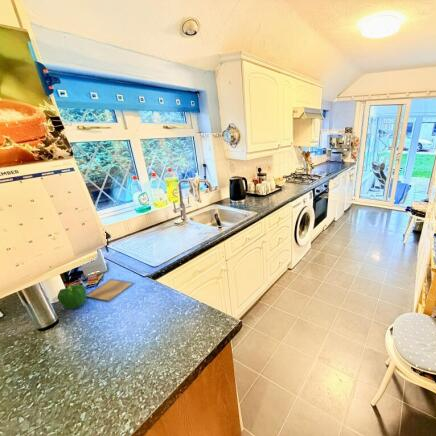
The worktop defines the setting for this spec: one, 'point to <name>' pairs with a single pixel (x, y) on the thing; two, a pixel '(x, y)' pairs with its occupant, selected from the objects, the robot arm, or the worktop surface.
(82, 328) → the worktop surface
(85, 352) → the worktop surface
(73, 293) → the bell pepper
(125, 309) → the worktop surface
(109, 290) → the coaster
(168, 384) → the worktop surface
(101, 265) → the white product box
